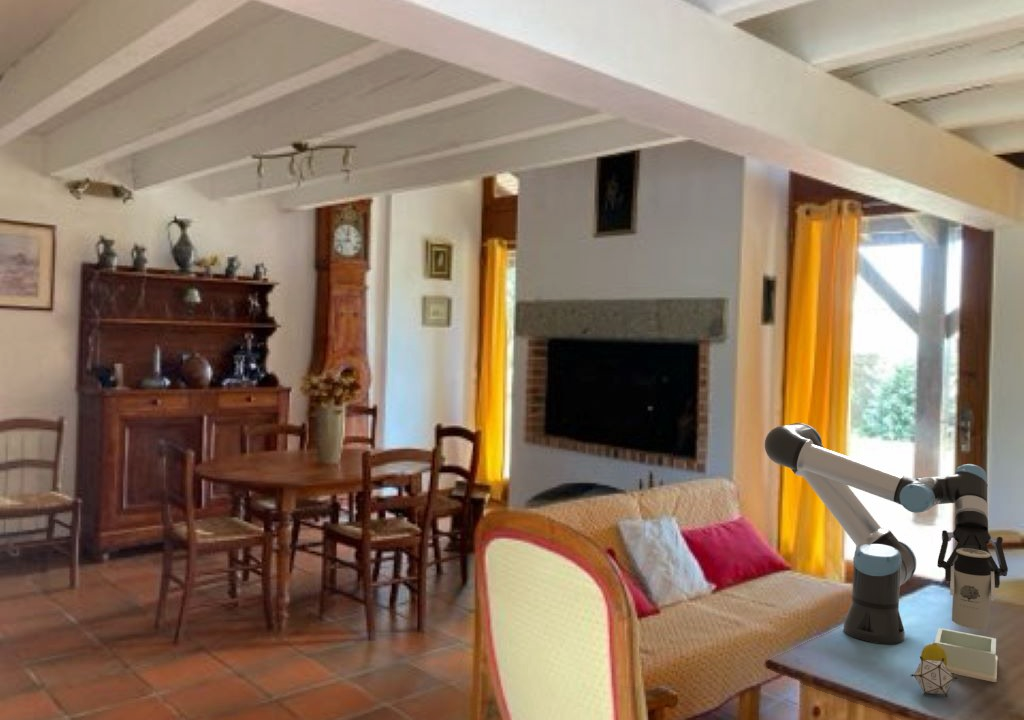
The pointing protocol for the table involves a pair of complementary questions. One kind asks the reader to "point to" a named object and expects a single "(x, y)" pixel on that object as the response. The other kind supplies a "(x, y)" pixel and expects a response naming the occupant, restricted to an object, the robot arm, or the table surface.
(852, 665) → the table surface
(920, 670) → the game die
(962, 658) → the holder
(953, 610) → the travel mug
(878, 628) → the robot arm
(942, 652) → the lemon
